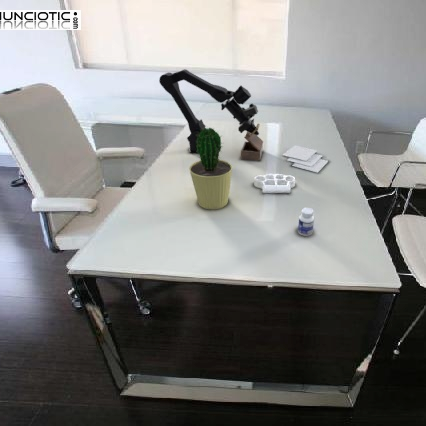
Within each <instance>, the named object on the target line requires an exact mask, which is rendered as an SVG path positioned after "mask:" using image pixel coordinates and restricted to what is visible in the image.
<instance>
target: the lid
mask: <svg viewBox="0 0 426 426" xmlns="http://www.w3.org/2000/svg"><path fill="white" fill-rule="evenodd" d="M260 126H261V124H260V123H257V124H256V125H255V127H256V129H255V130H254V131H253V132H252V133H251V132H248V131H246V132H245V134H244V139H245V140H246V142H249V143H250V144H251V145H253V146H254V147H255V148H256V149H257V150H258V151H259V152H260V151H261V148H262V145H263V146H264V141H263V140H262V138H260V137H259V135H255V134H254V133H255V132H256V131H258V132H259V129H260Z"/></svg>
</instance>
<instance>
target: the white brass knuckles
mask: <svg viewBox="0 0 426 426" xmlns="http://www.w3.org/2000/svg"><path fill="white" fill-rule="evenodd" d="M253 185H254V187H255V188H257V189H261V190H262V193H263V194H290V193H291V191H292V190H291V189H292V188H295V186H296V178H295V176H293V175H285V174H282V173H265V174H262V175H260V174H258V175H256V176H254V178H253Z"/></svg>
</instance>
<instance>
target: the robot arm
mask: <svg viewBox="0 0 426 426" xmlns="http://www.w3.org/2000/svg"><path fill="white" fill-rule="evenodd" d="M181 81H186V82H187V83H188V84H191V85H192V86H194V87H196V88H198V89H199V90H201V91H204V92H206V94H208V95H210V97H211V98H212V99H214V100H215V101H216V102H218V103H221V104H220V106H221V111H224V110H225V109H226V110H227V111H228V113H230V114H231V115H232V119H234V120H236V121H237V122H238V125H239V126H238V127H237V128H238V132H239V133H240V134H242V133H244V132H245V131H246V132H247V131H248V132H251V133H252V132H253V131H254V130H255V129H256V125H255V118H253V117H255V115H258V113H259V110H258V106H257V105H256V104H253V103H250V104H249V106H248V107H246V108H245V107H243V106H241V105H244V104H245V103H246V102H248V100H250V98H251V97H252V94H251V93H250V91H249V90H248V89H247V88H245V87H244V86H242V85H239V87H238V88H236V90H235V91H233V90H228V89H227V88H226V87H223V86H221V85H217V84H213V83H211V82H209V81H207V80H205V79H203V78H201V77H200V76H198V75H196V74H194V73H192V72H191V71H189V70H188V69H182V70H179V71H176V72H170V71H169V72H168V71H167V72H165V73H164V74H161V75H160V77H159V84H160V86H161V87H162V88H163V89H164V90H165V92H167V93H168V94H169V95H170V96H171V97H172V99H173V101H174V102H175V104H176V105H177V107H178V109H179V110H180V112H181V113H182V115H183V117H184V118H185V121H186V122H187V125H188V130H189V132H190V134H189V135H188V136H187V137H186V139H187V142H188V143H189V153H190V154H196V152H197V154H199V153H198V151H197V148H196V147H197V144H196V143H197V140H198V136H199V134H198V133H201V131H202V130H203V129H202V128H204V129H205V128H207V125H206V124H205V123H204V121H203V119H198V118H197V117H196V115H195V113H194V112H193V110H192V108H191V107H190V104H189V103H188V102H187V100H186V99H185V97H184V94H183V93H182V91H181V90H180V83H179V82H181ZM252 118H253V119H252ZM196 134H197V135H196ZM254 134H255V135H257V136H259V135H260V132H259V130H258V131H256V132H255V133H254ZM195 141H196V142H195Z"/></svg>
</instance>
